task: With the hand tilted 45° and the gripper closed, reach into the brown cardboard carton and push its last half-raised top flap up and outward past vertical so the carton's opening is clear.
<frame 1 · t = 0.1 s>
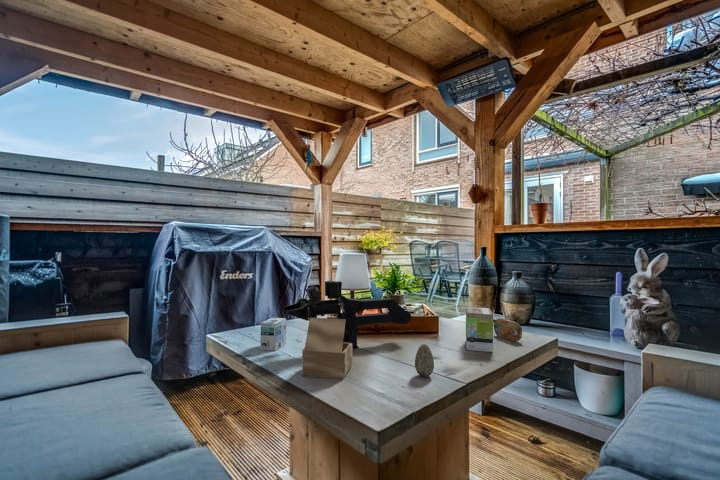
hand: (285, 310, 131), 17 cm above the table, tool horizontal, fingers open, 9 cm apart
tin: (507, 339, 151), on the table
carton: (328, 371, 113), on the table
light bulb box: (273, 347, 141), on the table
tea box: (479, 346, 141), on the table
carton flap: (325, 334, 110), point 13 cm above the table, hinge at 60.0°
decorative egg: (424, 376, 108), on the table
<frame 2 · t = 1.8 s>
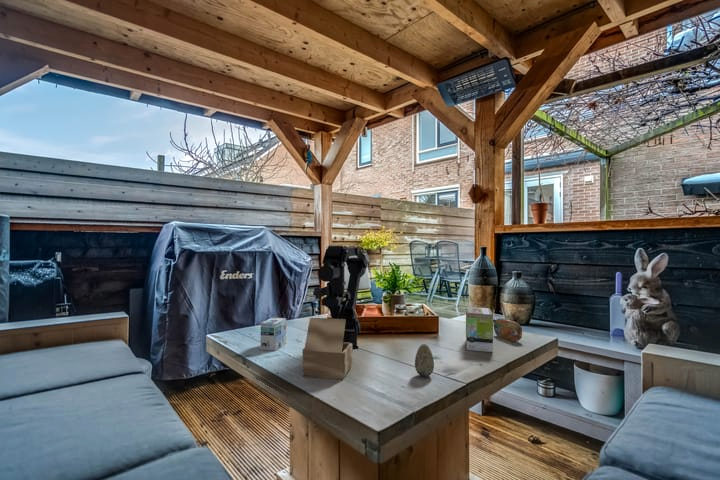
hand: (336, 321, 128), 13 cm above the table, tool pointing down, fingers open, 5 cm apart
nothing on the table moved.
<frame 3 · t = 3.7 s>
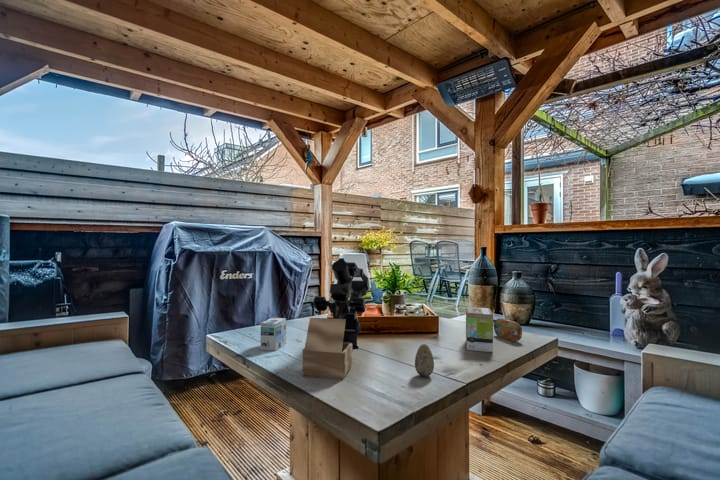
hand: (335, 324, 121), 13 cm above the table, tool tilted 45°, fingers closed
nothing on the table moved.
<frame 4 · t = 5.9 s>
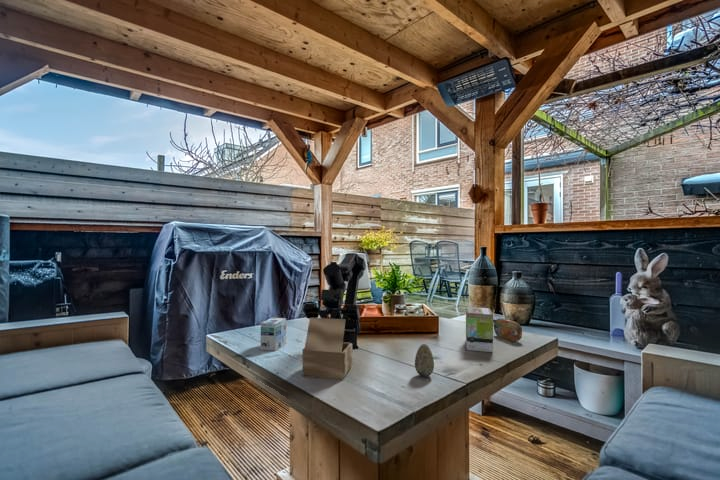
hand: (326, 333, 111), 13 cm above the table, tool tilted 45°, fingers closed, pressing on carton flap
carton flap: (325, 334, 110), point 13 cm above the table, hinge at 60.0°, touching gripper
everything else where it was.
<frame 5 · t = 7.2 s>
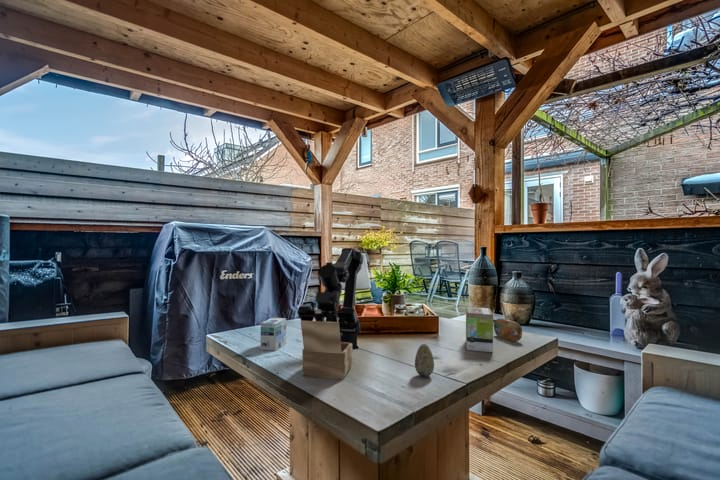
hand: (321, 338, 106), 13 cm above the table, tool tilted 45°, fingers closed, pressing on carton flap
carton flap: (321, 337, 106), point 13 cm above the table, hinge at 106.9°, touching gripper
everything else where it was.
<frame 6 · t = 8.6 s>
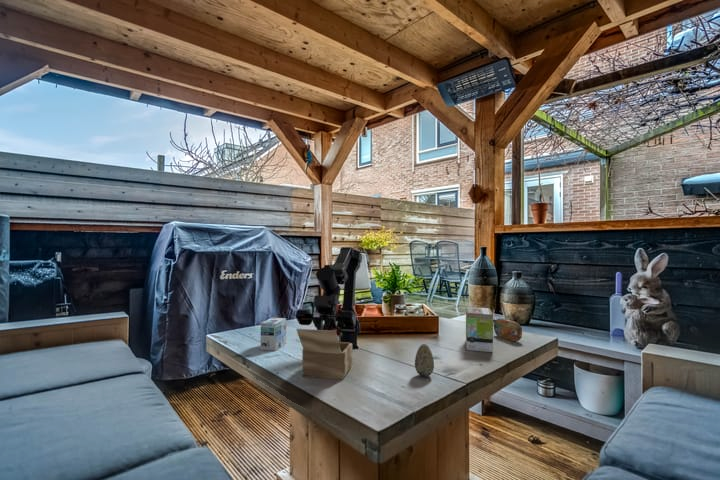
hand: (319, 342, 105), 12 cm above the table, tool tilted 45°, fingers closed, pressing on carton flap
carton flap: (319, 341, 104), point 12 cm above the table, hinge at 127.8°, touching gripper
everything else where it was.
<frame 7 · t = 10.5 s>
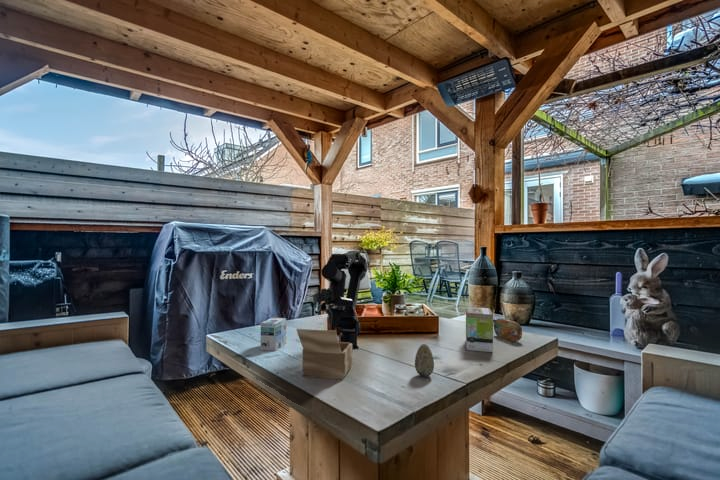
hand: (332, 330, 121), 11 cm above the table, tool tilted 20°, fingers closed
carton flap: (319, 341, 104), point 12 cm above the table, hinge at 127.9°
everything else where it was.
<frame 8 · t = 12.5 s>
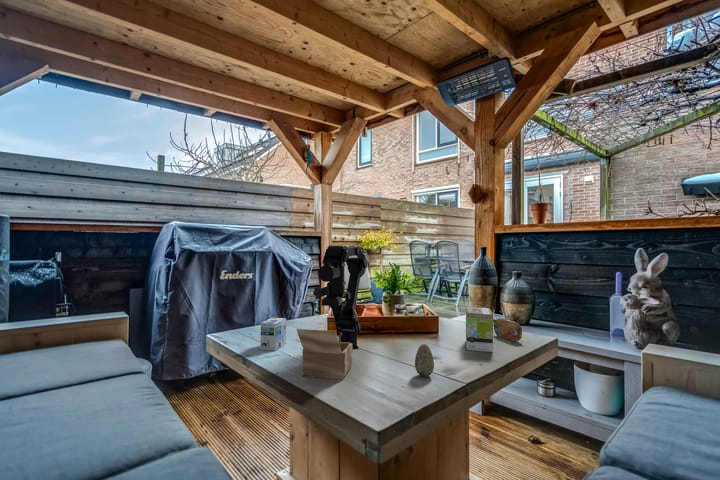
hand: (336, 321, 128), 13 cm above the table, tool pointing down, fingers closed
nothing on the table moved.
at the end: carton flap at +128° (first picture: +60°); decorative egg moved 0.2 cm from its start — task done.
